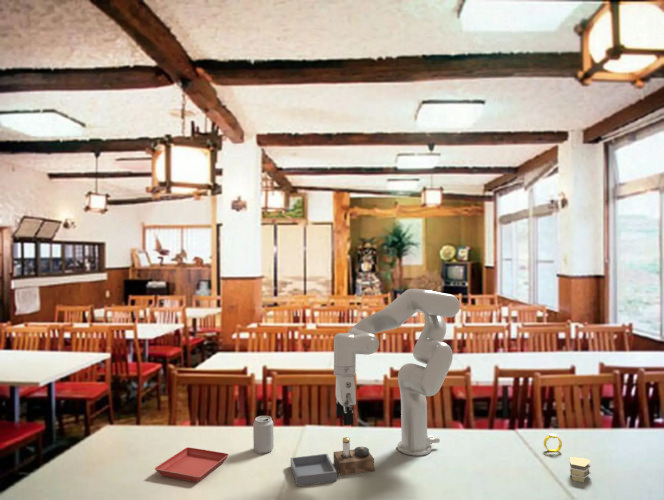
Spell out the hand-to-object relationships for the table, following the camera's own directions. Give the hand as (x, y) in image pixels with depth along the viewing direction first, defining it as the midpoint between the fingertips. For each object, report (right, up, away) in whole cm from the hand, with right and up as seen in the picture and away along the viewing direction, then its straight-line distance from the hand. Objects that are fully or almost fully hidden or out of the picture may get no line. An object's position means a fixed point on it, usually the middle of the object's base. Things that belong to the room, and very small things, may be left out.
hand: (344, 419), depth 157 cm
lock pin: (+1, -17, 0) cm, 17 cm away
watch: (+77, -16, +11) cm, 79 cm away
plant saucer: (-52, -18, +1) cm, 55 cm away
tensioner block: (+3, -17, +1) cm, 17 cm away
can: (-30, -17, +16) cm, 38 cm away
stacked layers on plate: (+76, -16, -9) cm, 78 cm away
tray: (-11, -17, -4) cm, 20 cm away
